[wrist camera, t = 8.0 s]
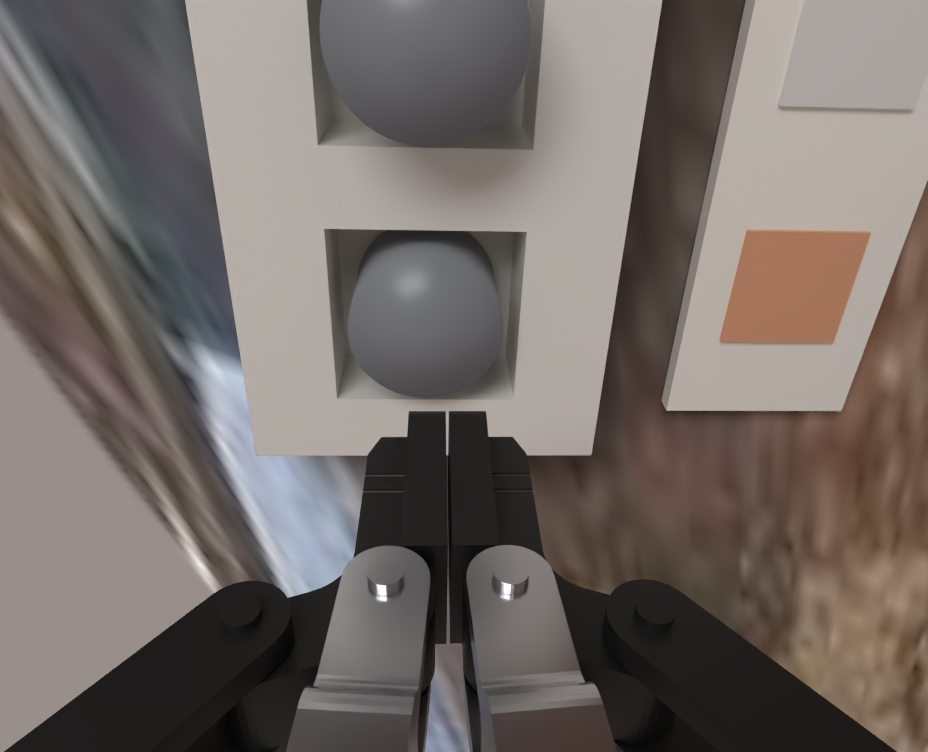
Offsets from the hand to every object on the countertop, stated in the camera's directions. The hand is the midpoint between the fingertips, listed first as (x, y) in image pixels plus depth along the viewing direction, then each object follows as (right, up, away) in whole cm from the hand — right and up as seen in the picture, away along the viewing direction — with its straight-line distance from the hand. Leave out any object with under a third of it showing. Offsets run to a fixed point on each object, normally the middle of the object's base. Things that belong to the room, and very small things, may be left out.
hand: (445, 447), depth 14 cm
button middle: (0, +9, +2) cm, 10 cm away
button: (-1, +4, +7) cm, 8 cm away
